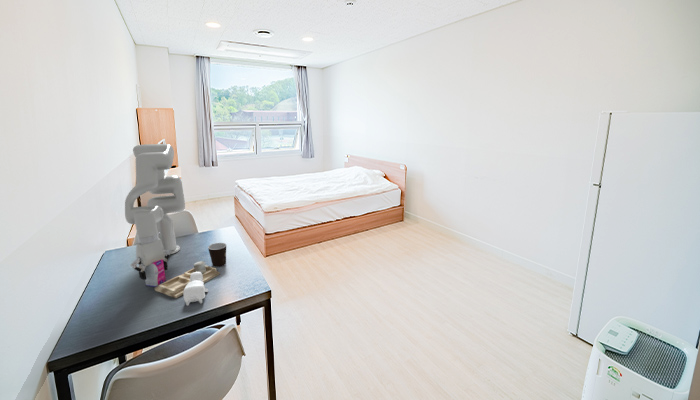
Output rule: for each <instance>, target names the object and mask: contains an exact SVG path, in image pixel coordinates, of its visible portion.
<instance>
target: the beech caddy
mask: <svg viewBox="0 0 700 400" xmlns="http://www.w3.org/2000/svg"><path fill="white" fill-rule="evenodd" d="M194 272H201V273H202V275H203V281H202V282H204V284H205V283H207V282H208V281H210V280H212V279H214V278H216V277H218V276H219V275H221V274H220V273H221V272H220V271H217V267H214V266H213V267H212V266H210V265H207V264H206V262H205V261H204V260H203V261H197V262H194V263H193V268H191V269H189V270H187V271H186V270H185V271H184V273H182V274H180V275H179V274H178V275H177V276H175V277H172V278H171V279H168V280H166V281H165V282H164V283H162V284H160V285H158V286H157V287H154V291H155V292H158V293H161V294H164V295H165V296H168V297H171V298H175V299H179V298H180V297H181V296H184V294H183V291H184V289H185V287H186V285H187V284H188V283H189V282H190V275H191V273H194Z"/></svg>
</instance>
